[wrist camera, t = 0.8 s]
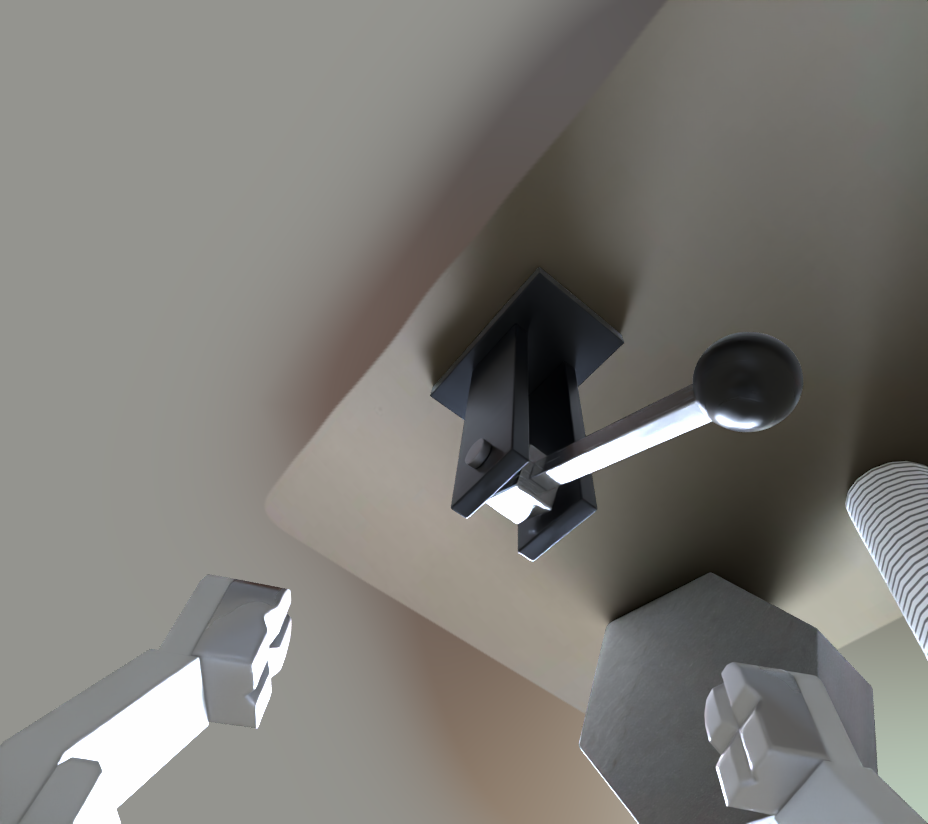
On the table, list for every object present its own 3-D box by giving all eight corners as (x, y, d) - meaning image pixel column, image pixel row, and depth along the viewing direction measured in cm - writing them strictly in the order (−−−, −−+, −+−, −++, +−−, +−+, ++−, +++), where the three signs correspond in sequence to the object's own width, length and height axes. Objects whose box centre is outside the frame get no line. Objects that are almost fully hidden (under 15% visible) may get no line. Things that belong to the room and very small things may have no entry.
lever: (760, 294, 18) (754, 366, 17) (825, 354, 19) (827, 430, 17) (491, 449, 30) (470, 502, 28) (539, 483, 31) (521, 536, 29)
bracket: (539, 266, 36) (547, 383, 23) (622, 334, 38) (671, 477, 25) (431, 387, 41) (391, 537, 28) (510, 443, 43) (504, 607, 30)
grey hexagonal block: (601, 746, 53) (798, 984, 34) (545, 703, 51) (723, 935, 31) (714, 595, 55) (962, 739, 36) (666, 547, 53) (904, 674, 33)
